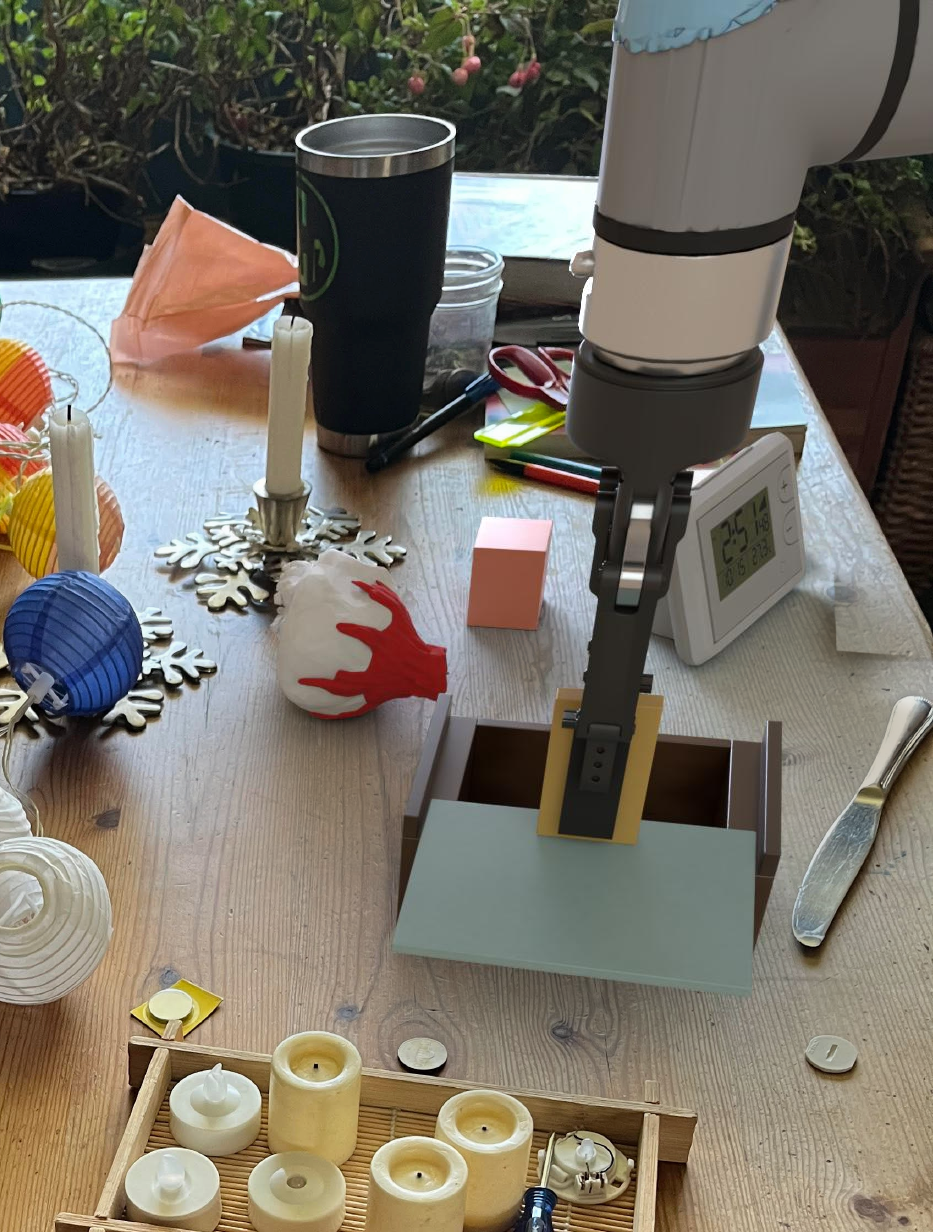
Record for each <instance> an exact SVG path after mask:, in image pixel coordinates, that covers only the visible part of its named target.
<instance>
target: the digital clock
mask: <svg viewBox="0 0 933 1232" xmlns="http://www.w3.org/2000/svg"><path fill="white" fill-rule="evenodd" d="M796 469H797V468H796V461H795V453H794V447H793V442H792V440H791V439H790V438H789V437H787V436H786V435H785V434H783V433H782V432H780V431H776V432H772V433H768V434H767V435H763V436H762V437H761V438H760V439H757V441H755V442H753V443H752V444H750V445H748V446H746V447H744V448H743V449H742V450H740V451H738V453H736V454H734V455H733V456H732V457H730V459H728V460H727V461H725V462H724V463H723V464H722V465H720V466H719V467H717V468H716V469H715V470H713V471H712V472H711V473H710V474H708V475H707V476H706V477H704V478H703V479H701V480H700V481H698V482H697V483H696V484H695V485H693V486H692V488H691V494H690V496H692V500H691V507H690V512H689V517H688V523H687V528H686V533H685V535H684V537H683V538H682V540H681V541H680V542H679V543H678V544H677V548H676V553H675V558H674V564H673V569H672V574H671V579H670V585H669V590H668V592H667V594H666V595H665V596H664V597H663V598H661V599H659V600H658V602H657V606H656V611H655V616H654V621H653V626H652V631H651V634H654V635H657V636H660V637H664V638H666V639H667V638H668V639H671V640H674V645H675V651H676V653H677V656H678V657H679V659H680V660H681V661H682V662H683V663H684V664H686V665H689V666H701V665H703V664H704V663H706V662H707V661H708V660H710V659H712V658H713V657H714V656H716V655H718V654H719V653H720V652H721V651H723V650H724V649H725V648H726V647H728V646H729V645H730V644H731V643H732V642H733V641H734V640H736V639H737V638H738V637H739V636H740V635H741V634H742V633H744V632H745V630H747V629H748V628H749V627H751V625H753V624H754V623H755V622H756V621H757V620H758V619H760V618H761V617H762V616H763V615H765V613H767V612H768V611H769V610H770V609H771V608H772V607H773V606H775V605H776V604H777V603H778V602H780V600H782V599H783V598H784V597H785V596H786V595H788V593H790V591H792V590H793V589H794V588H795V587H796V586H797V585H798V584H800V582H801V581H802V580H803V579H804V578H805V576H806V573H807V558H806V548H805V541H804V531H803V522H802V513H801V506H800V497H799V496H800V495H799V487H798V479H797V470H796Z"/></svg>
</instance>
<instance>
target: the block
mask: <svg viewBox="0 0 933 1232" xmlns="http://www.w3.org/2000/svg"><path fill="white" fill-rule="evenodd" d="M553 526H554V520H553V519H539V518H538V519H537V518H536V519H535V518H517V517H501V516H499V517H498V516H483V517H482V519H481V522H480V526H479V528H478V531H477V535H476V539H475V541H474V546H473V551H472V563H471V573H470V584H469V594H468V605H467V617H466V626H468V627H469V626H470V627H483V628H495V629H497V628H498V629H510V630H512V629H513V630H525V631H537V628H538V625H539V619H540V616H541V612H542V611H541V610H542V606H543V603H544V602H543V601H544V597H545V588H546V581H547V574H548V566H549V558H550V550H551V543H552V535H553V528H554V527H553Z"/></svg>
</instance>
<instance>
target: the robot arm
mask: <svg viewBox="0 0 933 1232" xmlns="http://www.w3.org/2000/svg"><path fill="white" fill-rule="evenodd" d="M612 28H613V29H612V35H611V36H612V37H611V41H612V42H613V48H612V49H613V50H612V58H611V67H610V77H609V83H608V84H609V85H608V94H607V103H606V112H605V118H604V119H605V120H604V129H603V136H602V145H601V155H600V162H599V163H600V165H599V170H598V171H599V174H598V180H597V181H598V182H597V189H596V197H595V198H596V199H595V201H594V203H595V204H594V206H593V207H594V208H593V215H592V222H591V223H592V229H591V230H592V231H591V234H590V241H589V242H590V248H589V249H584V250H577V251H576V252H574V254H573V255H572V257H571V260H570V263H569V271H570V273H571V274H572V275H573V276H574V277H576V278H587V279H588V280H587V281H586V283H585V285H584V288H583V290H582V291H583V292H582V299H581V307H580V313H579V320H578V321H579V322H578V327H579V332H580V334H582V336H583V337H584V339H583V340H582V342H581V343H580V344H579V345H578V346H577V347H576V348H575V349H574V352H573V357H572V366H571V373H570V380H569V388H568V395H567V403H566V411H565V418H564V431H565V434H566V436H567V438H568V441H570V443H571V444H572V445H573V446H574V447H575V448H576V449H578V450H579V452H582V453H583V454H585V455H586V456H588V457H591V458H593V459H595V460H598V461H599V460H601V461H602V460H603V461H605V462H607V463H609V464H611V465H613V466H601V470H600V477H599V481H598V482H599V483H598V489H597V492H596V498H595V505H594V511H593V517H592V524H591V533H592V535H593V537H594V538H595V544H594V550H593V556H592V562H591V569H590V576H589V581H588V589H589V592H591V594H593V595H594V596H596V598H597V604H596V609H595V617H594V623H593V629H592V635H591V638H590V640H588V643H587V649H586V651H587V654H588V659H587V667H586V668H585V670H583V673H582V682H583V683H584V686H583V689H584V691H583V698H582V704H581V710H580V709H579V711H577V710H565V709H564V714H563V720H562V726H561V728H567V729H574V734H573V740H572V746H571V753H570V759H569V765H568V772H567V778H566V784H565V791H564V797H563V803H562V810H561V816H560V822H559V829H558V834H562V835H572V836H581V837H590V838H600V839H609V840H612V838H613V833H614V828H615V823H616V817H617V812H618V807H619V801H620V796H621V791H622V786H623V780H624V775H625V770H626V764H627V759H628V754H629V748H630V743H631V740H632V735H634V734H635V729H636V724H635V720H636V716H635V713H636V708H637V703H638V697H639V694H651V695H652V690H653V684H654V677H655V676H654V675H655V674H654V673H644V671H645V666H646V661H647V657H648V656H647V655H648V650H649V645H650V641H651V636H652V633H651V631H652V626H653V621H654V616H655V611H656V606H657V602H658V600H659V599H661V598H663V597H664V596H665V595H666V594H667V592H668V590H669V585H670V579H671V574H672V569H673V564H674V558H675V553H676V548H677V544H678V543H679V542H680V541H681V540H682V538H683V537H684V535H685V533H686V528H687V523H688V517H689V512H690V507H691V500H692V496H690V494H691V488H692V487H693V484H694V483H693V482H694V475H695V470H686V469H688V468H690V467H694V466H697V465H702V466H704V465H707V464H711V463H714V462H716V461H719V460H722V459H723V458H726V457H727V456H729V455H731V454H732V453H734V452H736V450H738V449H739V448H740V447H741V446H742V444H743V443H744V442H745V440H746V439H747V437H748V436H749V433H750V429H751V425H752V420H753V417H754V416H753V415H754V411H755V406H756V401H757V396H758V392H759V386H760V382H761V378H762V374H763V368H764V364H765V354H764V352H763V350H762V349H761V347H760V345H761V344H762V343H764V342H765V341H767V340H768V339H769V337H770V335H771V334H772V332H773V330H774V327H775V326H774V325H775V321H776V317H777V312H778V308H779V307H778V306H779V303H780V298H781V293H782V288H783V284H784V278H785V275H786V269H787V265H788V260H789V254H790V250H791V246H792V242H793V236H794V232H795V222H796V221H795V220H796V216H797V211H798V207H799V202H800V199H801V195H802V191H803V188H804V184H805V181H806V177H807V173H808V169H810V168H812V167H818V166H831V165H832V166H833V165H840V164H841V165H842V164H849V163H854V162H863V161H873V160H881V159H891V158H892V159H893V158H900V157H910V156H911V157H912V156H918V155H929V154H933V0H619V2H618V7H617V12H616V15H615V17H614V19H613V26H612Z"/></svg>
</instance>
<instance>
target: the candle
mask: <svg viewBox="0 0 933 1232" xmlns="http://www.w3.org/2000/svg"><path fill="white" fill-rule="evenodd" d="M281 571H283V573H281V574H280V575H279V578H278V582H277V584H276V588H275V592H276V593H274V594H273V603H274V605H279V607H278V608H277V609H276V612H277V615H276V617H275V618H274V619H273V622H271V624H270V626H269V630H270V632H272V634H275V635H276V638H277V641H278V643H279V647H278V655H277V662H276V669H275V670H276V677H277V680H278V683H279V687H280V688H281V690H282V692H283V694H284V695H285V697H286V698H287V699H288V700H289V701H291V702H292V703H293V704H295V705H296V706H298V707H299V708H302V709H303V710H305V711H307V712H309V713H308V715H310V716H312V717H315V718H318V719H320V720H343V719H350V718H354V717H359V716H362V715H363V714H365V713H367V712H369V711H372V710H373V709H376V708H377V707H379V706H380V705H382V704H384V703H387V702H389V701H392V700H395V699H408V698H411V697H416V698H421V699H427V700H429V701H432V702H435V703H436V702H437V699H438V695H439V693H444V694H447V691H448V677H447V676H448V675H450V673H449V671H448V670H449V667H448V660H447V659H448V658H447V651H448V649H447V648H446V647H445V646H440V645H436V644H431V643H426V642H425V641H423V639H422V638H421V637H420V635H419V634H418V631H417V630H416V628H415V625H414V624H413V621H412V618H411V615H410V612H409V611H408V609H407V607H406V606H405V605H404V603H403V602H402V600H401V598H400V597H399V595H398V594H397V593H396V584H395V582H394V580H393V578H392V576H391V574H390V572H389V570H388V569H387V568H385V566H378V565H372V564H368V563H366V562H363V561H361V560H359V559H357V558H355V557H353V556H351V555H349V554H348V553H345V552H343V551H340V550H338V549H335V548H329V549H326V550H324V551H323V552H321V554H319V555H318V559H317V560H316V562H315V563H312V562H309V561H307V560H299V559H297V560H292V561H291V562H283V563H282V565H281Z"/></svg>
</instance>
